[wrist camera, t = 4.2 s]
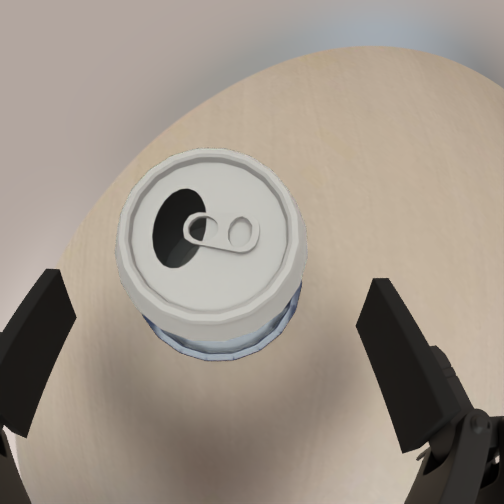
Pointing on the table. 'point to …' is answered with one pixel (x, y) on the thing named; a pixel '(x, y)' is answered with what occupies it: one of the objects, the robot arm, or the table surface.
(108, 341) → the table surface
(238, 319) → the can
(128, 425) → the table surface
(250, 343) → the dish
